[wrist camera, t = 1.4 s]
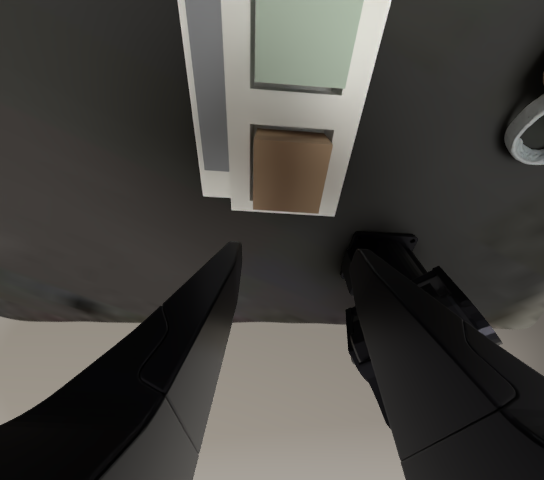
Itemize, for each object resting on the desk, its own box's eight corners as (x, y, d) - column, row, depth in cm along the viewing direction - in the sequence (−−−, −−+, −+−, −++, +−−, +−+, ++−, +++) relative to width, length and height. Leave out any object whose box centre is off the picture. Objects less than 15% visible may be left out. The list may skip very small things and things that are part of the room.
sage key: (353, -26, 11) (375, -54, 8) (332, 85, 13) (344, 89, 11) (260, -34, 11) (256, -64, 8) (258, 79, 13) (254, 81, 11)
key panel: (387, -85, 12) (429, -145, 8) (324, 199, 21) (333, 222, 18) (169, -107, 11) (127, -176, 8) (205, 191, 21) (193, 213, 18)
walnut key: (323, 132, 15) (333, 144, 13) (312, 194, 18) (318, 213, 15) (257, 128, 15) (253, 139, 12) (256, 190, 18) (252, 209, 15)
